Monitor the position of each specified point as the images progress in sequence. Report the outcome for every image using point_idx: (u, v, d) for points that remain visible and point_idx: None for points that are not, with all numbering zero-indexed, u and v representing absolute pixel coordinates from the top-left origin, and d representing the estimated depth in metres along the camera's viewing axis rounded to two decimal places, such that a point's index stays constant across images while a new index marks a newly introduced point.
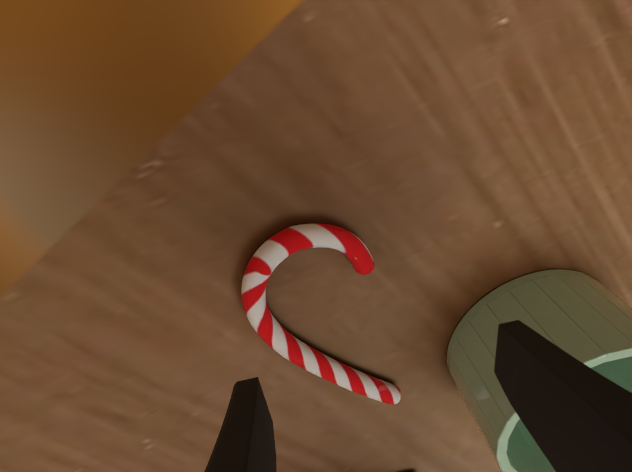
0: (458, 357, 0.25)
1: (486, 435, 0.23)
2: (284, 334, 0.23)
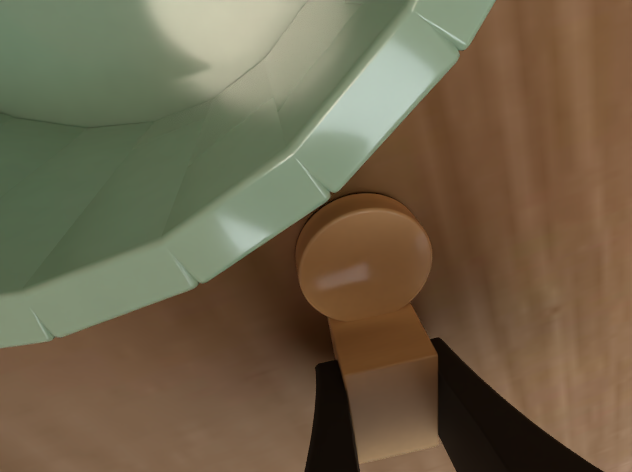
0: None
1: None
2: None
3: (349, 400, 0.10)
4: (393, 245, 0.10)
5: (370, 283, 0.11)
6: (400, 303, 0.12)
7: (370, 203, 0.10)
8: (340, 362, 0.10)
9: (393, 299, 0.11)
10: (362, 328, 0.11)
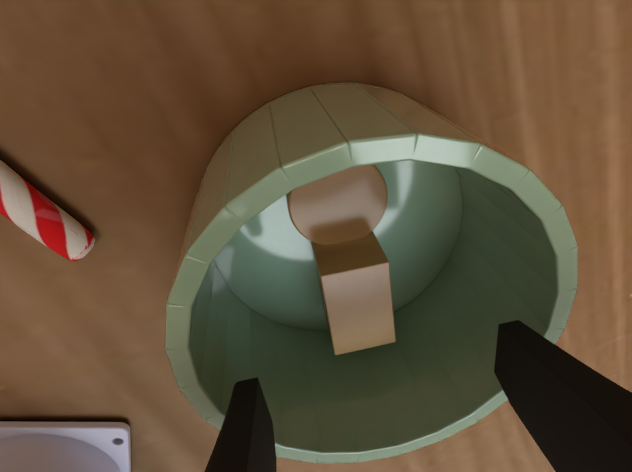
0: (198, 193, 0.14)
1: None
2: None
3: (325, 297, 0.14)
4: (357, 183, 0.14)
5: (341, 213, 0.15)
6: (365, 231, 0.15)
7: None
8: (318, 269, 0.14)
9: (359, 227, 0.15)
10: (336, 249, 0.15)
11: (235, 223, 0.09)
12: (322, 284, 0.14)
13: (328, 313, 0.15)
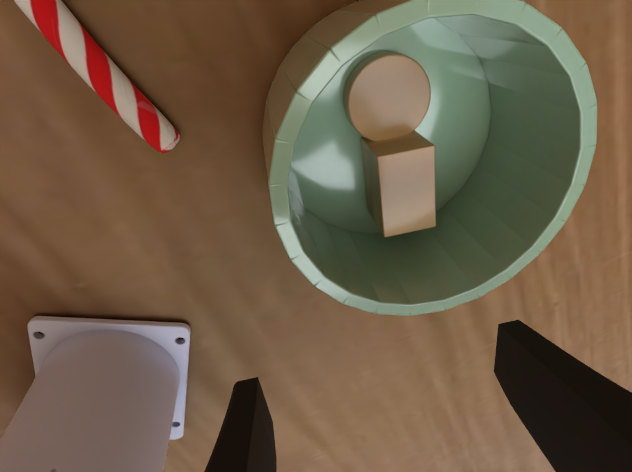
0: (273, 87, 0.16)
1: (267, 164, 0.14)
2: None
3: (380, 178, 0.17)
4: (406, 82, 0.17)
5: (392, 110, 0.17)
6: (410, 128, 0.18)
7: (392, 53, 0.17)
8: (374, 153, 0.17)
9: (406, 125, 0.18)
10: (386, 142, 0.18)
11: (336, 64, 0.12)
12: (378, 165, 0.17)
13: (381, 194, 0.17)
